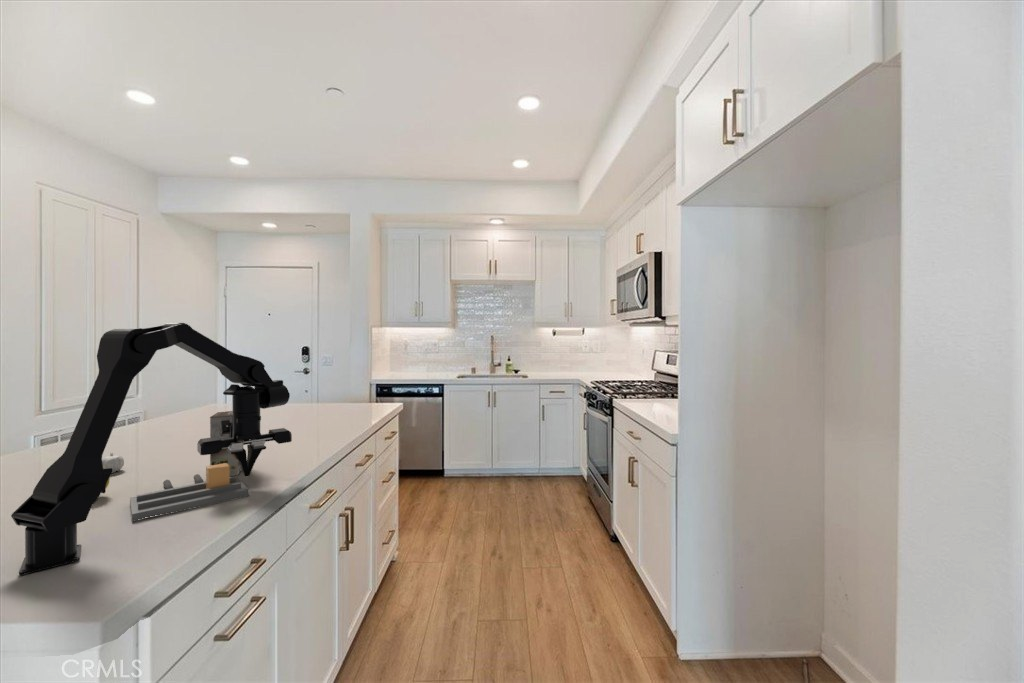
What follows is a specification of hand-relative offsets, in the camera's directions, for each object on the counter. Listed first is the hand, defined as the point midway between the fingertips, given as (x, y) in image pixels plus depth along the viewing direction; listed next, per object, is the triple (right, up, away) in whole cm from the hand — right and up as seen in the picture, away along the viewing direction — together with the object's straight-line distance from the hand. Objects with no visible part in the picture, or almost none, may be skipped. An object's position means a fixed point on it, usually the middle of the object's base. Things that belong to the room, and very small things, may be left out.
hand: (246, 476), depth 102 cm
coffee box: (-13, -3, +12) cm, 18 cm away
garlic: (-45, -3, +13) cm, 47 cm away
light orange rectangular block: (-4, -1, -4) cm, 6 cm away
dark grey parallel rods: (-15, -3, +1) cm, 16 cm away
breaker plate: (-8, -3, -7) cm, 11 cm away
